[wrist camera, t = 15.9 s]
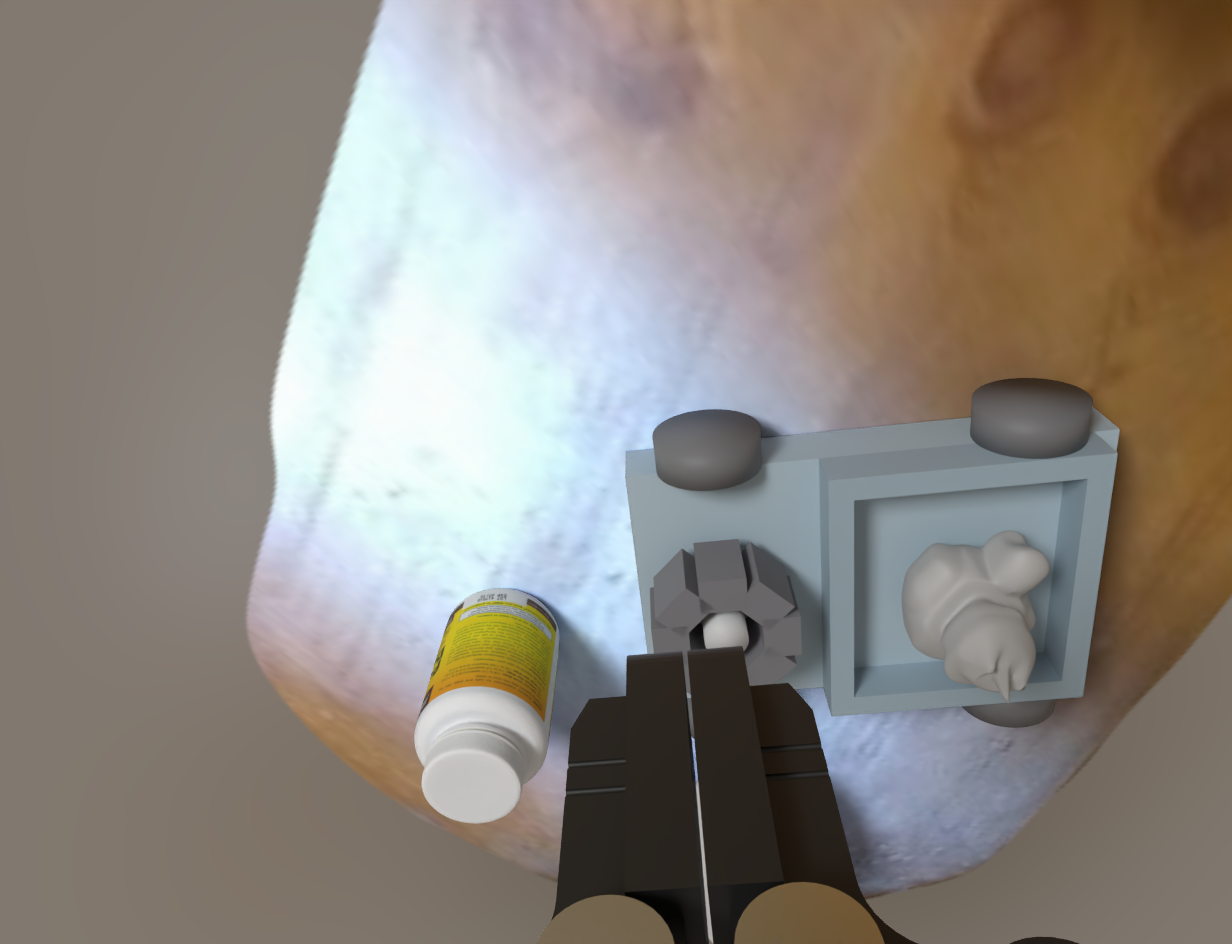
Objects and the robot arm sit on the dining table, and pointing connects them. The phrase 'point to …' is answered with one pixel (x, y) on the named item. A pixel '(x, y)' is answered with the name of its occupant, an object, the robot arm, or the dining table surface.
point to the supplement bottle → (488, 705)
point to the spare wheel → (728, 605)
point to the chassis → (891, 533)
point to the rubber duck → (976, 610)
